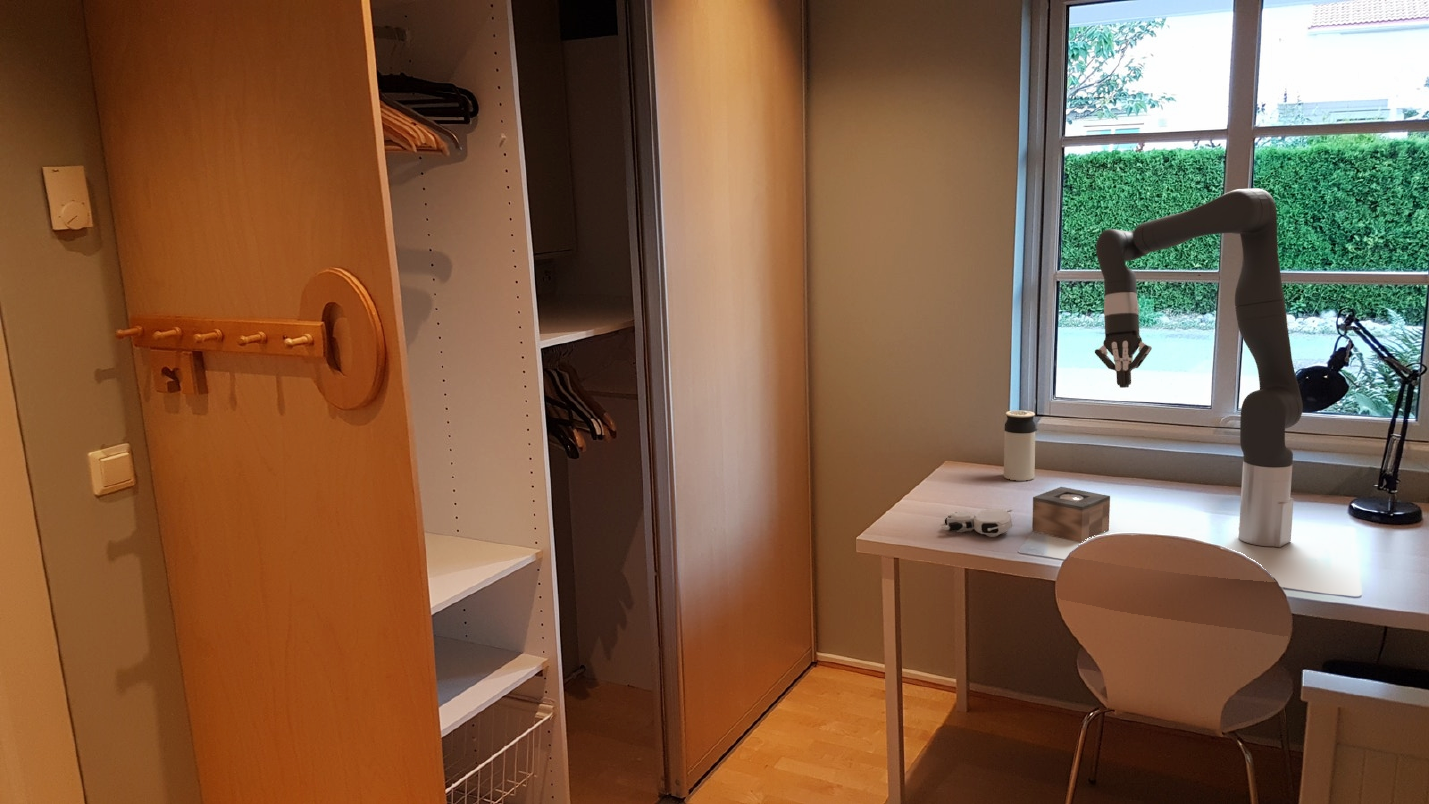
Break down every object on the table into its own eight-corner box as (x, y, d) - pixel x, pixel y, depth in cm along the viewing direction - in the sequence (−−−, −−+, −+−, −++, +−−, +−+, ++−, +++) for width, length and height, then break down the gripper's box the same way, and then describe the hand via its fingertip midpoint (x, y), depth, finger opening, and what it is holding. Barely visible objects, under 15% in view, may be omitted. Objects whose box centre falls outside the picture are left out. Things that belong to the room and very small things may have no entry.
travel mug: (1005, 481, 273) (1006, 415, 270) (1002, 474, 281) (1003, 410, 278) (1036, 481, 272) (1037, 415, 269) (1032, 474, 280) (1033, 410, 276)
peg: (1086, 530, 230) (1087, 497, 228) (1074, 535, 226) (1075, 501, 225) (1066, 525, 233) (1067, 493, 232) (1054, 530, 230) (1055, 497, 229)
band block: (1108, 530, 229) (1110, 495, 228) (1081, 542, 221) (1082, 507, 220) (1060, 519, 238) (1061, 486, 237) (1032, 531, 230) (1033, 497, 229)
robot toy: (940, 541, 229) (1009, 542, 223) (939, 521, 228) (1008, 522, 222) (949, 525, 240) (1015, 525, 234) (948, 506, 239) (1014, 506, 234)
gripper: (1087, 315, 241) (1090, 388, 239) (1145, 308, 232) (1148, 384, 231) (1098, 318, 246) (1101, 390, 245) (1155, 312, 238) (1158, 386, 236)
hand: (1124, 387), depth 238 cm, fingers closed
